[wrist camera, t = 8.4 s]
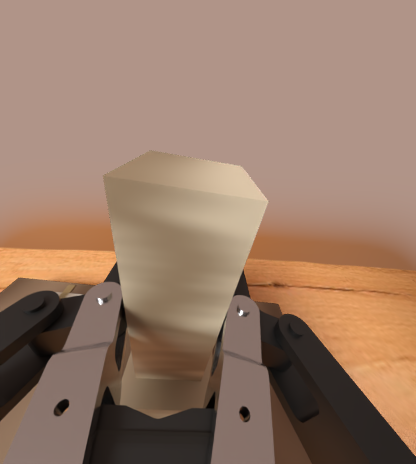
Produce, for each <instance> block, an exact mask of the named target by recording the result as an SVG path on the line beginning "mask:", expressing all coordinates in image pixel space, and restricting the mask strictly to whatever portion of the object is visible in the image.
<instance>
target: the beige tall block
mask: <svg viewBox="0 0 416 464" xmlns="http://www.w3.org/2000/svg"><path fill="white" fill-rule="evenodd" d="M103 179H104V185H105V191H106V198H107V204H108V210H109V216H110V222H111V228H112V234H113V241H114V247H115V253H116V259H117V265H118V272H119V278H120V284H121V290H122V296H123V302H124V309H125V315H126V321H127V327H128V333H129V339H130V346H131V353H130V356H129V359H128V362H127V365H126V368H125V371H124V374H123V377H122V388H121V399H120V405H126V406H128V407H131V408H133V409H135V410H137V411H140V412H142V413H144V414H146V415H149V416H151V417H153V418H156V419H160V418H163V417H166V416H169V415H172V414H175V413H178V412H181V411H184V410H187V409H191V408H203V405H204V399H205V394H206V390H207V386H208V382H209V378H210V372H211V366H212V360H213V354H212V351H213V348H214V345H215V343H216V340H217V337H218V335H219V332H220V329H221V327H222V324H223V321H224V319H225V316H226V313H227V311H228V308H229V305H230V303H231V300H232V297H233V295H234V292H235V289H236V287H237V284H238V281H239V279H240V276H241V274H242V271H243V268H244V266H245V263H246V260H247V258H248V255H249V252H250V249H251V247H252V244H253V242H254V239H255V236H256V234H257V231H258V228H259V225H260V223H261V220H262V218H263V215H264V212H265V210H266V207H267V204H268V202H269V201H268V200H267V199H266V197H265V196H264V195H263V194H262V192H261V191H260V190H259V188H258V187H257V186H256V185H255V183H254V182H253V180H252V179H251V178H250V176H249V175H248V174H247V173H246V171H245V170H244V169H243V167H242V166H236V165H231V164H226V163H220V162H214V161H208V160H202V159H197V158H191V157H185V156H179V155H173V154H168V153H162V152H155V151H149V152H147V153H145V154H143V155H141V156H139V157H137V158H135V159H134V160H132V161H130V162H128V163H126V164H124V165H122V166H120V167H118V168H117V169H115V170H113V171H111V172H109V173H107V174H105V175H103Z"/></svg>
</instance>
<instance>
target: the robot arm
mask: <svg viewBox="0 0 416 464" xmlns="http://www.w3.org/2000/svg"><path fill="white" fill-rule="evenodd" d="M127 334H128V327H127V321H126V315H125V309H124V302H123V296H122V290H121V284H120V278H119V272H118V265H117V262H116V264H115V265H114V267H113V268H112V270H111V271H110V273H109V274H108V276H107V278H106V279H105V281H104V282H103V283H100V284H98V285H95V286H94V287H92V288H91V289H90V290H89V291H88V292H87V293H86V294H84V295H79V296H73V297H67V298H61V299H60V297H59V295H58V294H57V293H56V292H54V291H48V290H45V291H39V292H35V293H32V294H30V295H27V296H25V297H24V298H22V299H20V300H19V301H17V302H15V303H14V304H12V305H11V306H9V307H8V308H6V309H4V310H3V311H1V312H0V421H1V420H2V419H3V418H4V417H5V416H6V415H7V414H8V413H9V412H10V411H11V410H12V409H13V408H14V407H15V406H16V405H17V404H18V403H19V402H20V401H21V400H22V399H23V398H24V397H25V396H26V395H27V394H28V393H29V392H30V391H31V390H32V389H33V388H34V387H35V386H36V385H37V384H38V385H37V387H36V389H35V392H34V394H33V396H32V398H31V401H30V403H29V405H28V407H27V410H26V412H25V414H24V416H23V419H22V421H21V423H20V426H19V428H18V430H17V432H16V435H15V437H14V439H13V441H12V444H11V446H10V448H9V450H8V453H7V455H6V457H5V459H4V462H3V464H275V458H274V444H273V429H272V414H271V399H270V385H269V382H270V384H271V386H272V388H273V390H274V392H275V393H276V395H277V397H278V399H279V401H280V403H281V405H282V407H283V409H284V411H285V413H286V415H287V417H288V419H289V420H290V422H291V424H292V426H293V428H294V430H295V432H296V434H297V436H298V438H299V440H300V442H301V444H302V446H303V447H304V449H305V451H306V453H307V455H308V457H309V459H310V461H311V463H312V464H416V457H415V455H414V454H413V453H412V452H411V450H410V449H409V448H408V447H407V446H406V444H405V443H404V442H403V441H402V440H401V438H400V437H399V436H398V435H397V433H396V432H395V431H394V430H393V429H392V427H391V426H390V425H389V424H388V423H387V421H386V420H385V419H384V418H383V416H382V415H381V414H380V413H379V412H378V410H377V409H376V408H375V407H374V406H373V404H372V403H371V402H370V401H369V399H368V398H367V397H366V396H365V395H364V393H363V392H362V391H361V390H360V389H359V387H358V386H357V385H356V384H355V382H354V381H353V380H352V379H351V378H350V376H349V375H348V374H347V373H346V372H345V370H344V369H343V368H342V367H341V365H340V364H339V363H338V362H337V361H336V359H335V358H334V357H333V356H332V355H331V353H330V352H329V351H328V350H327V348H326V347H325V346H324V345H323V344H322V342H321V341H320V340H319V339H318V338H317V336H316V335H315V334H314V333H313V332H312V330H311V329H310V328H309V327H308V325H307V324H306V323H305V322H304V321H303V320H301V319H300V318H298V317H297V316H295V315H292V314H284V315H282V316H281V317H280V318H277V317H274V316H272V315H269V314H267V313H264V312H263V311H261V310H259V308H258V306H257V305H256V303H255V302H254V301H253V300H252V299H251V298H250V295H249V291H248V287H247V283H246V278H245V275H244V270H243V271H242V274H241V276H240V279H239V281H238V284H237V287H236V289H235V292H234V295H233V297H232V300H231V303H230V305H229V308H228V311H227V313H226V316H225V319H224V321H223V324H222V327H221V329H220V332H219V335H218V337H217V340H216V343H215V349H214V354H213V360H212V366H211V372H210V378H209V382H208V386H207V390H206V394H205V399H204V405H203V408H191V409H187V410H184V411H181V412H178V413H175V414H172V415H169V416H166V417H163V418H160V419H156V418H153V417H151V416H149V415H146V414H144V413H142V412H140V411H137V410H135V409H133V408H131V407H128V406H126V405H120V399H121V388H122V369H123V362H124V355H125V348H126V341H127ZM64 411H65V413H64V414H63V412H64ZM62 414H63V415H62ZM243 420H244V422H243Z"/></svg>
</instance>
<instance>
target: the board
mask: <svg viewBox="0 0 416 464" xmlns="http://www.w3.org/2000/svg"><path fill="white" fill-rule="evenodd" d="M94 286H95V285H87V284H77V283H67V282H57V281H48V280H38V279H28V278H18V279H16V280H15V281H14V282H13V283H12V284H10V285H9V286H8V287H7V288H6V289H4V290H3V291H2V292H1V293H0V312H1V311H3V310H4V309H6V308H8V307H9V306H11V305H12V304H14V303H15V302H17V301H19V300H20V299H22V298H24V297H25V296H27V295H30V294H32V293H35V292H39V291H45V290H48V291H54V292H56V293H57V294H58V295H59V297H60V299H61V298H67V297H73V296H79V295H84V294H86V293H87V292H88V291H89V290H90V289H91V288H92V287H94ZM255 303H256V305H257V306H258V308H259V310H261V311H263V312H264V313H267V314H269V315H272V316H274V317H277V318H280V317H281V316H282V312H281V310H280V307H279V305H278V304H274V303H264V302H255ZM214 349H215V345H214V348H213V351H212V354H214ZM130 353H131V346H130V339H129V333H128V334H127V341H126V348H125V355H124V362H123V369H122V377H123V374H124V371H125V368H126V365H127V362H128V359H129V356H130ZM37 385H38V384H37ZM37 385H36V386H35V387H34V388H33V389H32V390H31V391H30V392H29V393H28V394H27V395H26V396H25V397H24V398H23V399H22V400H21V401H20V402H19V403H18V404H17V405H16V406H15V407H14V408H13V409H12V410H11V411H10V412H9V413H8V414H7V415H6V416H5V417H4V418H3V419H2V420H1V421H0V464H3V462H4V459H5V457H6V455H7V453H8V450H9V448H10V446H11V444H12V441H13V439H14V437H15V435H16V432H17V430H18V428H19V426H20V423H21V421H22V419H23V416H24V414H25V412H26V410H27V407H28V405H29V403H30V401H31V398H32V396H33V394H34V392H35V389H36V387H37ZM269 385H270V399H271V414H272V429H273V444H274V458H275V464H312V463H311V461H310V459H309V457H308V455H307V453H306V451H305V449H304V447H303V446H302V444H301V442H300V440H299V438H298V436H297V434H296V432H295V430H294V428H293V426H292V424H291V422H290V420H289V419H288V417H287V415H286V413H285V411H284V409H283V407H282V405H281V403H280V401H279V399H278V397H277V395H276V393H275V392H274V390H273V388H272V386H271V384H270V382H269ZM64 413H65V411H64V412H63V414H64ZM63 414H62V415H63ZM243 422H244V420H243Z"/></svg>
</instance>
